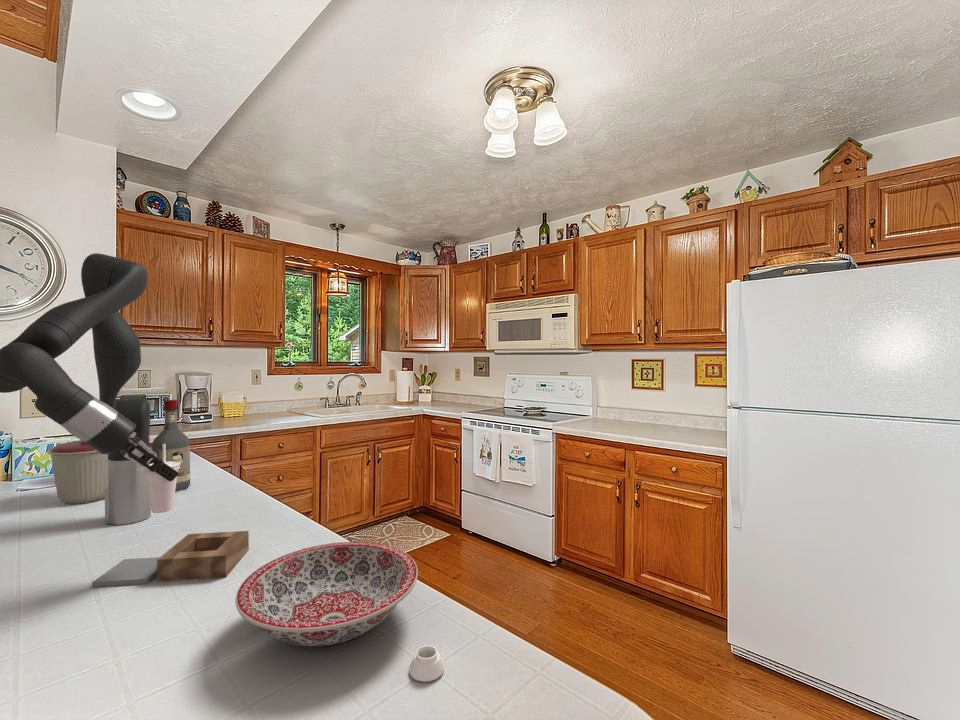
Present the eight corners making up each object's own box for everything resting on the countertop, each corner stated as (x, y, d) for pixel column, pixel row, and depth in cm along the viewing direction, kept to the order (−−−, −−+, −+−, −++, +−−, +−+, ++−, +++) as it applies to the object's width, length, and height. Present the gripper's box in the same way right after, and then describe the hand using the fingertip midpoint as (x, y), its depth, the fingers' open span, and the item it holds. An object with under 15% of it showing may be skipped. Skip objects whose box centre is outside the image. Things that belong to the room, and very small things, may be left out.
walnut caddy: (157, 581, 92) (156, 559, 92) (188, 553, 105) (188, 534, 105) (226, 577, 94) (225, 555, 94) (248, 549, 107) (248, 530, 107)
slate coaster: (92, 587, 90) (92, 582, 90) (124, 563, 100) (124, 559, 100) (147, 583, 92) (147, 578, 92) (173, 560, 102) (173, 556, 102)
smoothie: (187, 505, 100) (187, 441, 100) (165, 515, 94) (164, 448, 94) (160, 504, 101) (159, 441, 101) (135, 514, 94) (135, 447, 94)
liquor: (150, 490, 153) (149, 400, 152) (180, 483, 160) (179, 398, 160) (162, 495, 148) (160, 402, 147) (192, 488, 155) (191, 399, 155)
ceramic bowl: (191, 657, 70) (190, 605, 70) (320, 570, 97) (319, 533, 97) (352, 708, 60) (351, 648, 59) (445, 595, 87) (445, 554, 87)
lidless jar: (408, 685, 64) (444, 683, 64) (408, 664, 64) (444, 662, 64) (410, 661, 69) (444, 659, 69) (410, 641, 69) (444, 640, 69)
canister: (134, 496, 147) (133, 430, 146) (60, 513, 132) (58, 440, 131) (111, 487, 157) (109, 425, 156) (39, 501, 141) (38, 433, 141)
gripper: (121, 414, 87) (193, 466, 95) (112, 407, 97) (178, 454, 105) (84, 446, 83) (163, 497, 91) (79, 435, 93) (150, 482, 102)
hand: (171, 474), depth 98 cm, fingers closed on smoothie, 6 cm apart
